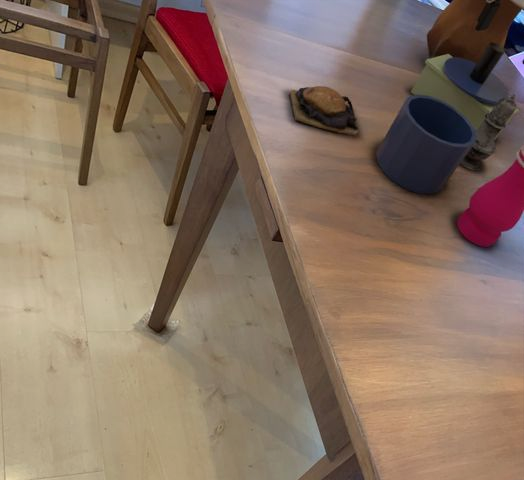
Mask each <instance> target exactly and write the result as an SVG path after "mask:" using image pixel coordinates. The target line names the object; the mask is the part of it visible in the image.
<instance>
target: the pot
mask: <svg viewBox="0 0 524 480" xmlns="http://www.w3.org/2000/svg"><path fill="white" fill-rule="evenodd" d="M387 130H388V131H387V132H386V134H385V136H384V138H383V139H382V141H381V143H380V145H379V147H378V148H377V150H376V154H375V156H376V157H375V158H376V161H377V164H378V165H379V168H380V169H381V171H382V172H383V173H384V174H385V176H387V177H388V178H389V179H390V180H391V181H392V182H394V183H395V184H396V185H398V186H400V187H402V188H403V189H406V190H408V191H409V192H413V193H415V194H421V195H433V194H435V193H438V192H440V191H441V190H442V189H443V188H444V187H445V185H446V184H447V182H448V181H449V180H450V178H451V177H452V176H453V174H454V173H455V171H456V170H457V169H458V167H459V166H460V165H461V164H460V163H461V162H462V160H463V159H464V157H465V156H466V155H467V153H468V152H469V151H470V149H471V148H472V146H473V145H474V144H475V140H476V137H477V135H476V132H475V129H474V127H473V126H472V125H471V123H470V122H469V121H468V119H467V118H466V117H465V116H464V115H463V114H461V113H460V112H459V111H458V110H457V109H455V108H454V107H452V106H450V105H449V104H447V103H445V102H443V101H442V100H439V99H436V98H433V97H430V96H426V95H414V94H412V95H410V96H407V97H406V98H405V100H404V102H403V104H402V105H401V107H400V109H399V111H398V113H397V115H396V116H395V118H394V120H393V122H392V123H391V125H390V127H389V128H388V129H387Z"/></svg>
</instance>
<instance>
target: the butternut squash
mask: <svg viewBox="0 0 524 480" xmlns="http://www.w3.org/2000/svg"><path fill="white" fill-rule="evenodd" d="M486 3H487V0H451V2H450V3H449V4H448V5H447V6H446V7H444V9H443V10H442V11H441V12H440V14H439V15H438V16H437V18H436V20H435V21H434V23H433V25H432V27H431V28H430V29H429V30H428V32H427V33H426V42H427V49H428V56H429V57H430V58H429V59H431V58H434V57H438V56H442V55H446V54H449V55H451V56H452V57H457V58H463V59H467V60H470V61H472V62H475V63H478V61H479V59H480V58H481V56H482V55H483V53H484V52H485V50H486V49H487V47H488V45H489V44H490V43H491V42H493V43H496V44H498V45H500V46H501V47H502V48H503V49H504V47H505V44H506V40H507V37H508V32H509V30H510V28H511V25H512V24H513V23H514V20H515V19H516V18H517V16H518V15H519V14H520V13H521V11H522V10H523V9H522V8H521V7H519V6H518V5H516V4H515V3H514V2H512V1H511V0H501V1H500V2H499V3H500V8H499V9H498V11H497V13H496V14H495V16H494V18H493V19H492V21H491V23H490V24H489V26H488V28H487V29H485V30H481V31H477V30H475V27H476V26H477V24H478V21H477V20H478V17H479V16H480V14H481V12H482V10H483V9H484V7H485V5H486Z"/></svg>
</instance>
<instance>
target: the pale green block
mask: <svg viewBox="0 0 524 480" xmlns="http://www.w3.org/2000/svg"><path fill="white" fill-rule="evenodd" d="M449 58H453V57H452V56H451V55H449V54H446V55H442V56H438V57H434V58H428V59H426V60H425V62H424V63H425V65H424V67H423V70H421V73H420V74H419V76H418V78H417V80H416V81H415V84H414V85H413V87H412V88H411V91H410V93H411V94H412V95H426V96H430V97H433V98H436V99H439V100H442V101H443V102H445V103H447V104H449V105H450V106H452V107H454V108H455V109H457V110H458V111H459V112H460V113H461V114H463V115H464V116H465V117H466V118H467V119H468V121H469V122H470V123H471V125H472V126H473V127H474V129H475V130H477V129H478V128H479V127H480V126H481V124H482V123H483V121H484V120H485V115H486V114H490V112H491V111H492V109H493V108H494V107H495V105H496V104H490V103H486V102H483V101H480V100H478V99H475V98H473V97H471V96H470V95H468V94H466V93H465V92H463V91H462V90H460V89H459V88H458V87H457V86H455V85H454V84H453V83H452V82H451V81H450V80H449V78H448V77H447V76H446V74H445V72H444V69H443V65H444V63H445V61H446V60H447V59H449ZM520 111H521V110H520V109H518V108H517V107H516V109H515V111H514V113H513V114H512V115H511V117H510V118H509V119H508V121H507V122H506V123H505V124H506V126H507V125H508V124H509V122H510V121H511V120H512V118H513V117H514V116H515V115H517V114H519V112H520ZM503 130H504V129H501V131H500V132H499V133H498V135H497V136H496V137H495V139H494V141H495V140H497V138H498V137H499V135H500V134H501V133H502V132H503Z"/></svg>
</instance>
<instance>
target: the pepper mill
mask: <svg viewBox="0 0 524 480" xmlns="http://www.w3.org/2000/svg"><path fill="white" fill-rule="evenodd" d="M515 156H516V158H515V160H514V161H513V163H512V164H511V165H510V166H509V167H508V168H507V169H506V170H505V171H504V172H502V173H501V174H500V175H498V176H497V177H494V178H493V179H492V180H490V181H488V182H486V183H484V184H483V185H481V186H480V187H479V188H477V190H476V191H475V192H474V193H473V194H472V195H471V197H470V199H469V202H468V208H466V209H464V211H463V212H462V213H461V214H460V215H459V217H458V218H457V221H456V224H457V228H458V230H459V232H460V233H461V235H462V236H463V237H464V238H465V239H466V240H467V241H469V242H471V243H472V244H474V245H477V246H479V247H483V248H489V247H492V246H493V245H494V244H495V243H496V242H497V241H498V240H499V239H500V238H501V236H502V233H503V232H509V231H510V230H512V229H514V227H516V226H517V224H518V223H519V222H520V220H521V217H522V216H523V214H524V144H523V145H522V146H521V148H520V149H519V150H518V151H517V152H516V155H515Z"/></svg>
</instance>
